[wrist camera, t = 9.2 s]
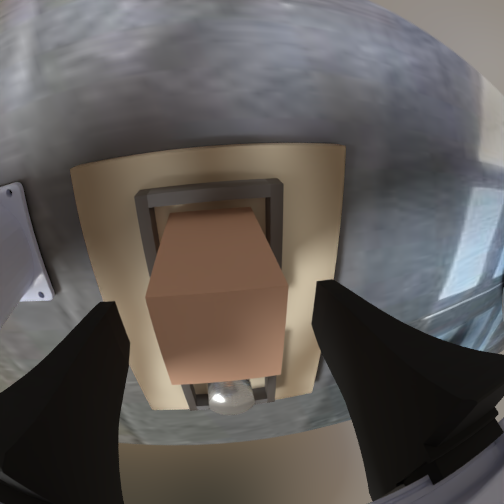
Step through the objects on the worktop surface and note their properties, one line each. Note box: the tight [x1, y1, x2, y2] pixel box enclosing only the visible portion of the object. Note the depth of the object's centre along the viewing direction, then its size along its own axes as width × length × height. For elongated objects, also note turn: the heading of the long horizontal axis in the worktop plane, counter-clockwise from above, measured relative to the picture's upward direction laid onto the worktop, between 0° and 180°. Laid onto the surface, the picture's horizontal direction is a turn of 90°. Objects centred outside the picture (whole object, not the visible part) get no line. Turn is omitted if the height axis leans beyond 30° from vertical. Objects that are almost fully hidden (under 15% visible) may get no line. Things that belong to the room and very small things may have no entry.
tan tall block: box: [145, 207, 289, 385], centre depth 12 cm, size 4×4×7 cm
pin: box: [207, 379, 255, 415], centre depth 18 cm, size 3×3×3 cm
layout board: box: [70, 143, 346, 411], centre depth 17 cm, size 14×20×2 cm
